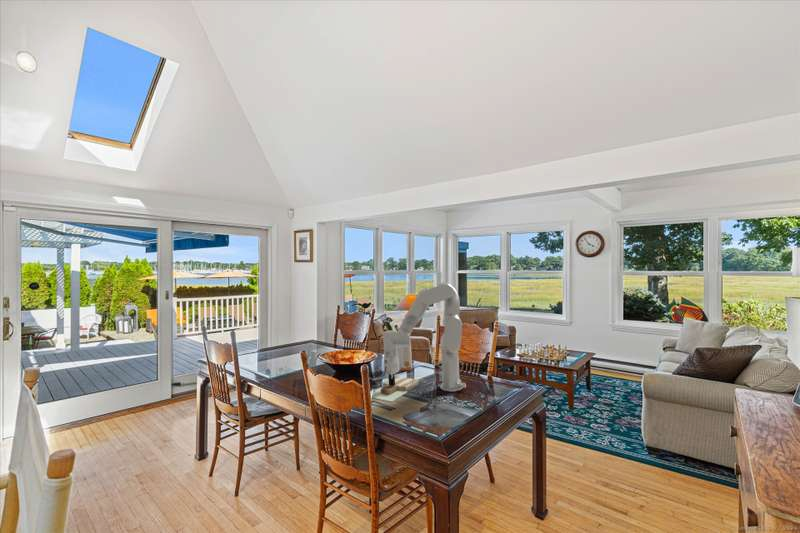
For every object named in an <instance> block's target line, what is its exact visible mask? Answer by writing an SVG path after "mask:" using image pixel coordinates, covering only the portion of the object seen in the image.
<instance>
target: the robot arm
mask: <svg viewBox="0 0 800 533" xmlns="http://www.w3.org/2000/svg"><path fill="white" fill-rule="evenodd" d="M439 302H444V312H443V320H442V325H443V327H444V332H443V334H442V335H441V337H440V341H439V342H440V351H441V353H440V354H441V374H442V377H441V380H442V383H441V384H440V386H439V388H440V390H442V391H445V392H459V391H461V390H462V389H463V388H464V389H466V387H467V384H466V382H462V379H461V378H460V364H459V363H460V360H459V349H460V348H461V344H462V334H463V322H462V320H461V318H460V309H461V308H460V307H461V303H460V302H461V300H460V296H459V294H458V291H457V289H455V287H454V286H452V285H451V284H450V283H448V282H446V281H442V282H440V283H438V284H437V285H436V286H434V287H431V288H428V289H427V288H423V289H421V290H419V291H418V293H417V295H416V297H415V299H414V300H413V302H412V304H411V306H410V308H409V310H408V311H407V314H406V315H405V317H404V318H403V320H402V322H401V324H400V326H399V327H398V329H397V331H396V330H393V329H392V330H385V331H384V332H383V335H382V338H383V374H385V375H384V377H385V378H387V379H388V380H389V385H391V386H394V385H395V377H396V374H397V373H398V372H400V371H399V370H400V365H399V357H398V354H397V344H407V343H408V342H409V341H410V340H411V335H412V332H413V330H414V328H416V325H418V323H419V322H420V321H421V320H422V319H423V317H424V316H425V314H426V312H427V310H428V308H429V306H430V305H433V304H438V303H439Z"/></svg>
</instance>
